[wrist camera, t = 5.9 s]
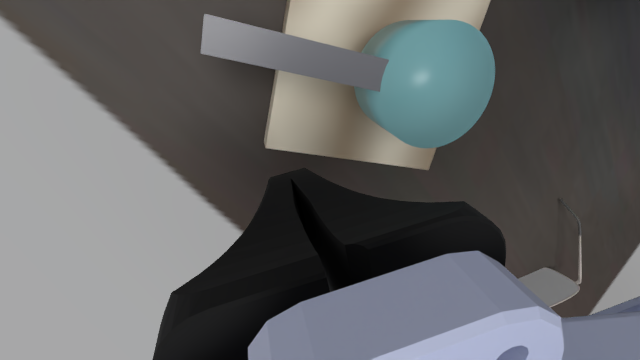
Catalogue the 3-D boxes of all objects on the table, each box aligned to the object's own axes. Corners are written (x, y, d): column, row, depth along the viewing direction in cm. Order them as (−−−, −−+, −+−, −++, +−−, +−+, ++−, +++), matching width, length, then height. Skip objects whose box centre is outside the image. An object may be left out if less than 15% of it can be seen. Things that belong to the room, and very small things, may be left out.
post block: (480, -11, 20) (538, -18, 16) (419, 163, 24) (454, 189, 20) (299, -73, 16) (319, -101, 13) (263, 141, 20) (271, 167, 17)
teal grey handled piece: (465, 34, 16) (514, 37, 13) (429, 134, 18) (466, 155, 15) (214, -40, 13) (210, -58, 10) (201, 93, 14) (195, 111, 12)
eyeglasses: (422, 315, 31) (446, 352, 28) (410, 251, 28) (436, 285, 24) (552, 261, 33) (592, 290, 29) (558, 192, 29) (603, 216, 25)
